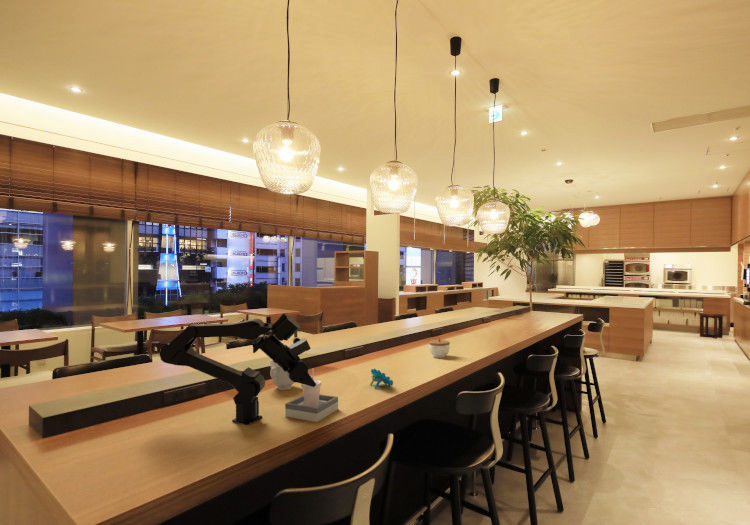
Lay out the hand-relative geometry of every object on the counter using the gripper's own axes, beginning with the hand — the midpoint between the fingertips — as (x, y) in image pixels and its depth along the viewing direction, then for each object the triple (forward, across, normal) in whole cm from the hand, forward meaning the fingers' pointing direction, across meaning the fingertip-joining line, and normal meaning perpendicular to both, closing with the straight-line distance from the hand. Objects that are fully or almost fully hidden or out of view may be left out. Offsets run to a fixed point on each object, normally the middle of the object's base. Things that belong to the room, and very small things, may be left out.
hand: (311, 381), depth 125 cm
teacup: (+4, +31, +10) cm, 33 cm away
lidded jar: (+63, +52, -49) cm, 95 cm away
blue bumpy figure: (+29, +16, -15) cm, 36 cm away
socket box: (+7, 0, +7) cm, 10 cm away
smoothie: (+7, 0, +7) cm, 10 cm away
